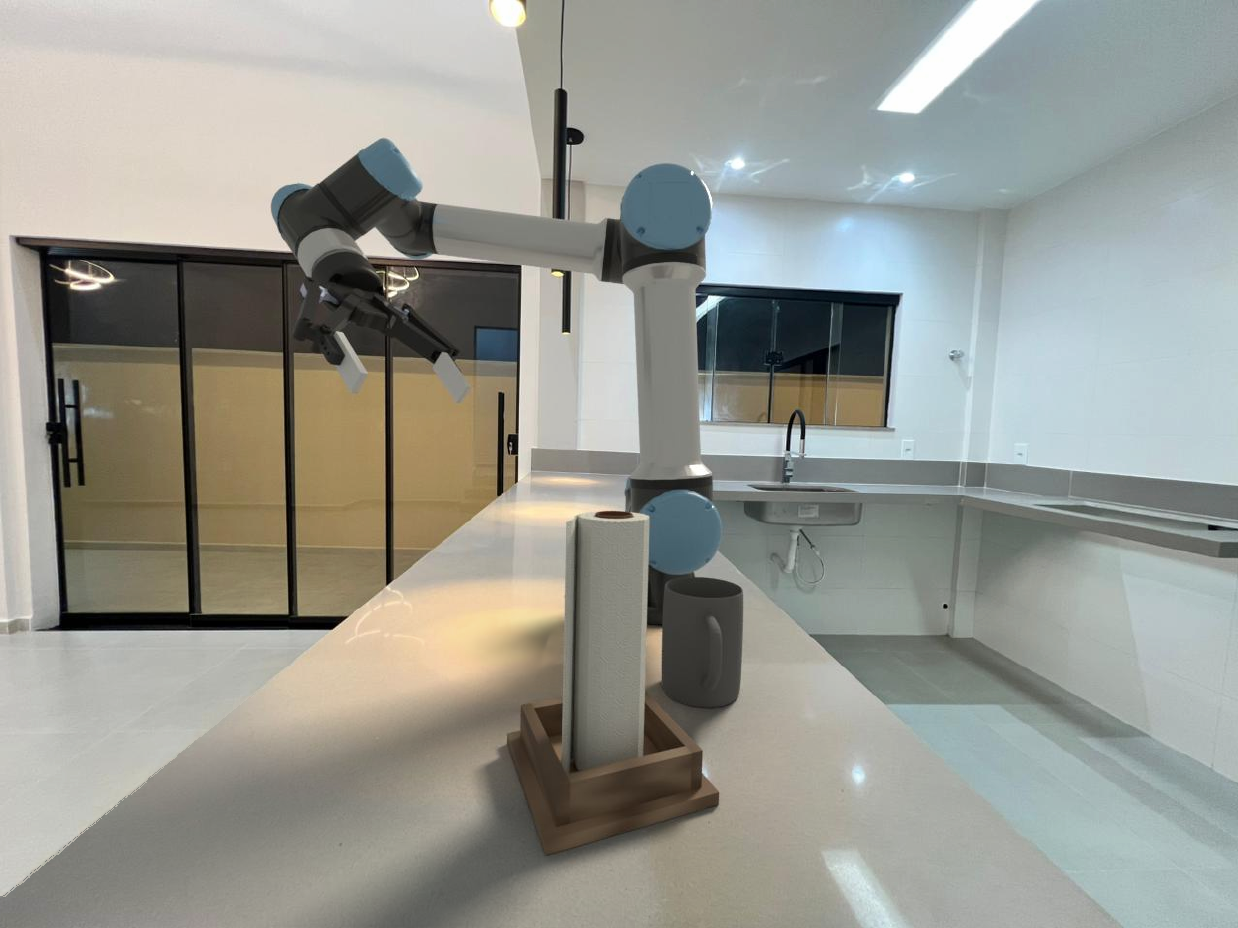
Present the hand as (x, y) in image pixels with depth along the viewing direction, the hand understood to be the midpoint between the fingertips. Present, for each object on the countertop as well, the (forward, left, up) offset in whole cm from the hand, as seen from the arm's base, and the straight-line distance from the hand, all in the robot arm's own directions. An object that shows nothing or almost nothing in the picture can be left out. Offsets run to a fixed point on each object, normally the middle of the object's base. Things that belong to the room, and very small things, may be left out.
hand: (416, 390), depth 59 cm
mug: (-30, +15, -34) cm, 47 cm away
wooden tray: (-15, +23, -34) cm, 43 cm away
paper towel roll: (-14, +23, -33) cm, 43 cm away
